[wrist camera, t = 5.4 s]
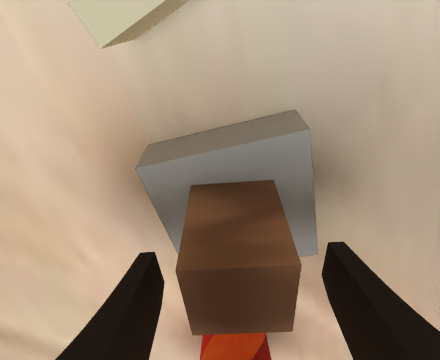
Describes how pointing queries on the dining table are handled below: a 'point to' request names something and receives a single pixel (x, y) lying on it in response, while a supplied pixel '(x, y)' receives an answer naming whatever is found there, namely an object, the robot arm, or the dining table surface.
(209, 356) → the coffee cup
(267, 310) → the walnut block
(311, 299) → the dining table surface
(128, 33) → the sage block
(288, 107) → the dining table surface
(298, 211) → the base block
